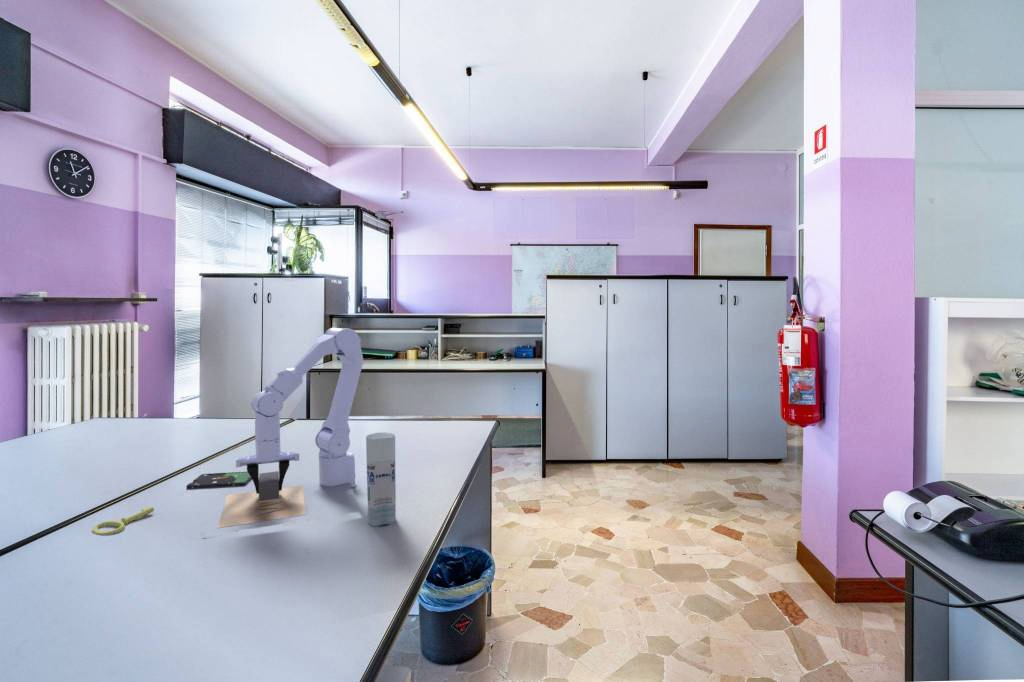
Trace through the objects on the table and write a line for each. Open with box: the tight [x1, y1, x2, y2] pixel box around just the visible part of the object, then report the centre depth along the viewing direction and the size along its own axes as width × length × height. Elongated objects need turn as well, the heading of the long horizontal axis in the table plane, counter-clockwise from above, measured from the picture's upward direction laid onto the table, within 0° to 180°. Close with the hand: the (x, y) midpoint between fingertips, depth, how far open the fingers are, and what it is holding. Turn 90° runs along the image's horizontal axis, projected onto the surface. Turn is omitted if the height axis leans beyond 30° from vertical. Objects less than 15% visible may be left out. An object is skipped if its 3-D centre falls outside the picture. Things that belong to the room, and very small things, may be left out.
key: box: [91, 506, 155, 536], centre depth 117 cm, size 7×12×2 cm, turn 177°
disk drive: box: [186, 471, 252, 491], centre depth 143 cm, size 10×3×15 cm
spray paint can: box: [365, 432, 397, 527], centre depth 118 cm, size 6×6×20 cm
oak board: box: [217, 485, 307, 529], centre depth 125 cm, size 18×22×1 cm
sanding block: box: [259, 470, 279, 502], centre depth 131 cm, size 4×8×5 cm, turn 24°
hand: (269, 490), depth 131 cm, fingers closed on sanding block, 4 cm apart
